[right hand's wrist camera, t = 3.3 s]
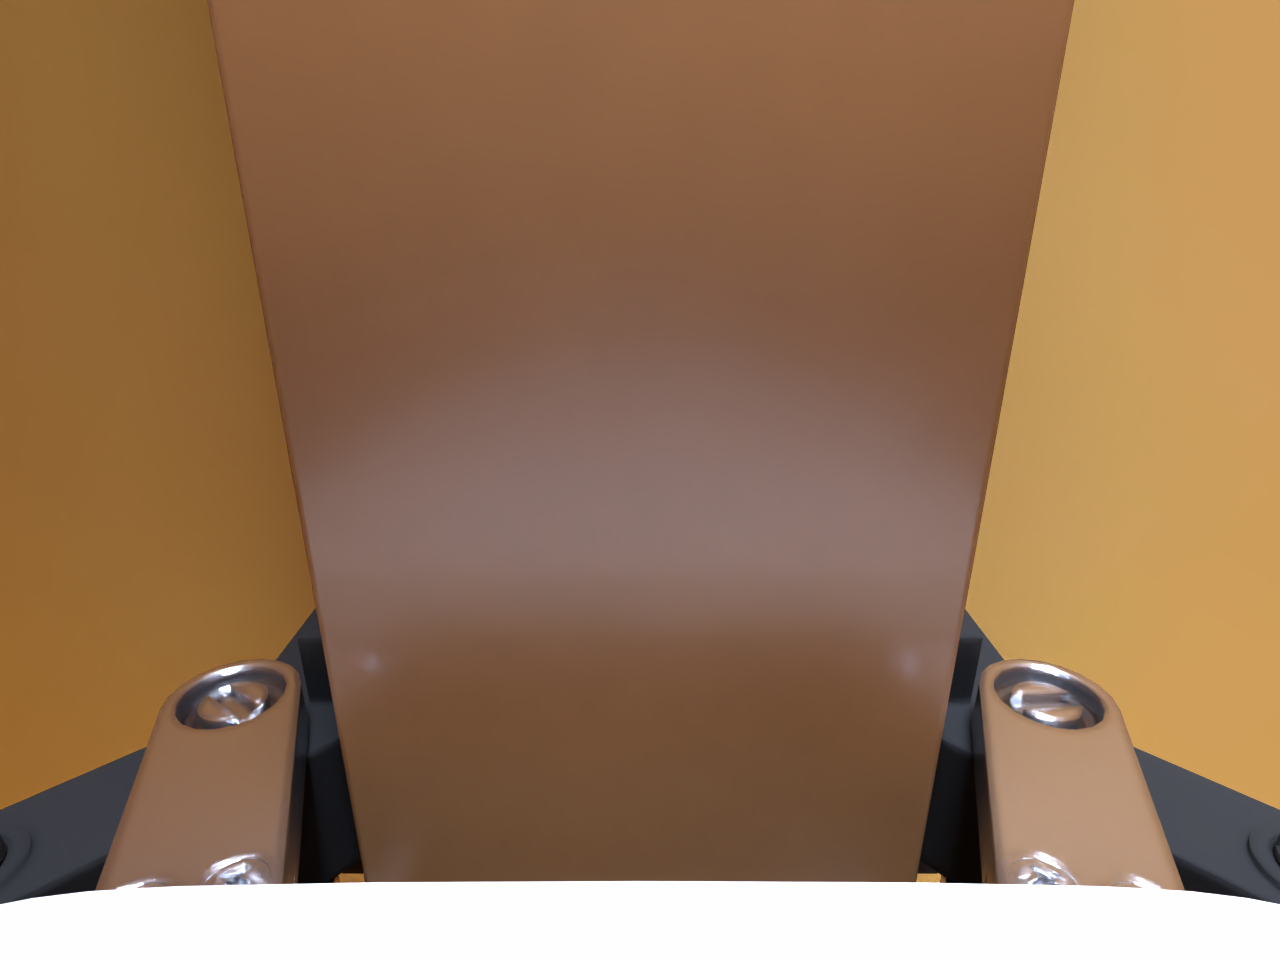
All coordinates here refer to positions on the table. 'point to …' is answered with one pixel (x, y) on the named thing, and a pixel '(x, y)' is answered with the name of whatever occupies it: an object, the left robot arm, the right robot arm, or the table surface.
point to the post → (640, 408)
